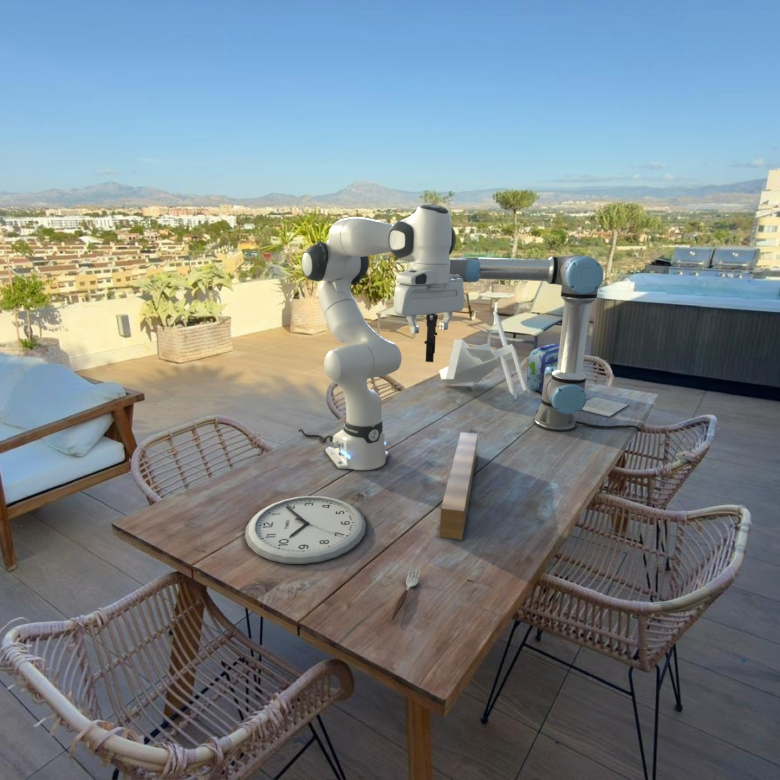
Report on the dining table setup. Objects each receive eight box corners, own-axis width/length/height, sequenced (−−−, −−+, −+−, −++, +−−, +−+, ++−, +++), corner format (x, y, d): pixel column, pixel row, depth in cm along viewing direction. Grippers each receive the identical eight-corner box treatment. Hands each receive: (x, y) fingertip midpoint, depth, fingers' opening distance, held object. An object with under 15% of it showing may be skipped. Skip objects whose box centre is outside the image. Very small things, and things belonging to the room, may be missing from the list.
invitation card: (608, 416, 214) (573, 407, 224) (608, 416, 214) (573, 408, 224) (628, 404, 229) (594, 396, 238) (628, 405, 229) (594, 397, 238)
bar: (459, 453, 177) (461, 432, 174) (476, 455, 176) (477, 433, 173) (439, 536, 129) (440, 508, 127) (462, 540, 128) (464, 511, 126)
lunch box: (542, 396, 239) (547, 351, 232) (522, 391, 246) (526, 347, 240) (570, 385, 256) (575, 343, 250) (550, 380, 263) (554, 339, 257)
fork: (385, 619, 101) (385, 611, 101) (410, 571, 116) (411, 563, 115) (398, 623, 100) (398, 614, 100) (422, 574, 115) (422, 566, 114)
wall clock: (368, 555, 118) (233, 560, 116) (368, 561, 119) (233, 566, 116) (363, 491, 147) (255, 494, 144) (363, 496, 147) (255, 499, 145)
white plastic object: (461, 429, 252) (437, 405, 227) (444, 352, 274) (420, 323, 250) (535, 404, 240) (518, 377, 215) (510, 326, 262) (492, 293, 237)
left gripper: (454, 272, 136) (451, 325, 140) (390, 275, 124) (389, 333, 129) (471, 274, 131) (468, 329, 135) (406, 278, 120) (404, 337, 124)
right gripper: (424, 293, 195) (422, 349, 202) (419, 302, 172) (417, 365, 178) (444, 294, 195) (441, 350, 201) (442, 303, 171) (439, 366, 177)
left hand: (429, 331), depth 132 cm, fingers open, 8 cm apart
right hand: (430, 357), depth 190 cm, fingers open, 13 cm apart
